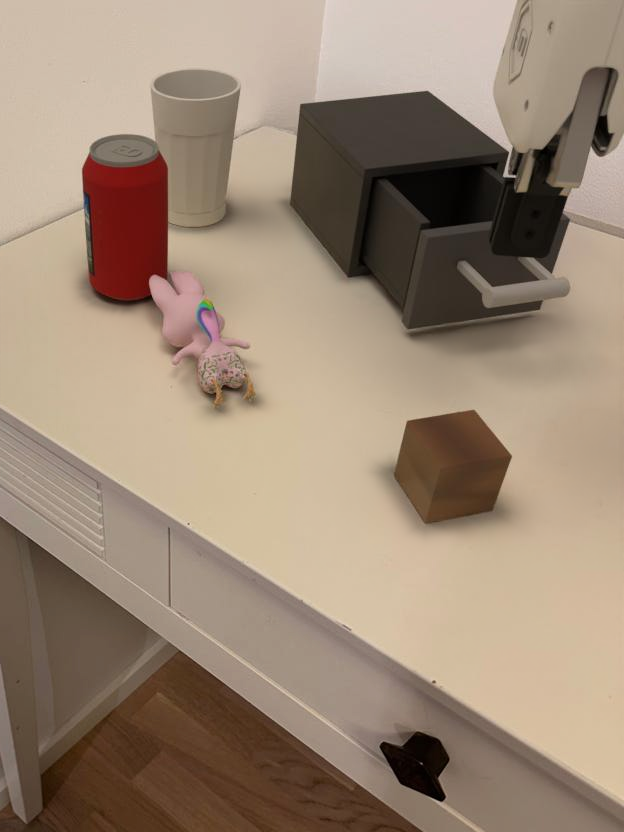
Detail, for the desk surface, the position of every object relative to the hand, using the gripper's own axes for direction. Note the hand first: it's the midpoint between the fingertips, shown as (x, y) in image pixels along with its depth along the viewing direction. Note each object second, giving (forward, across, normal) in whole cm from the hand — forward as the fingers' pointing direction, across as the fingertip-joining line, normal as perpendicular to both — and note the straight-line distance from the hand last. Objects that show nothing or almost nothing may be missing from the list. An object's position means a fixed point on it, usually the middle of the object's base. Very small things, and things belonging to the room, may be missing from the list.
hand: (516, 249), depth 52 cm
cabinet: (+14, -29, -5) cm, 32 cm away
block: (+14, +6, -2) cm, 15 cm away
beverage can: (+14, -16, -26) cm, 34 cm away
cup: (+14, -30, -22) cm, 40 cm away
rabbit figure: (+14, -7, -19) cm, 25 cm away
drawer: (+13, -17, +1) cm, 21 cm away
